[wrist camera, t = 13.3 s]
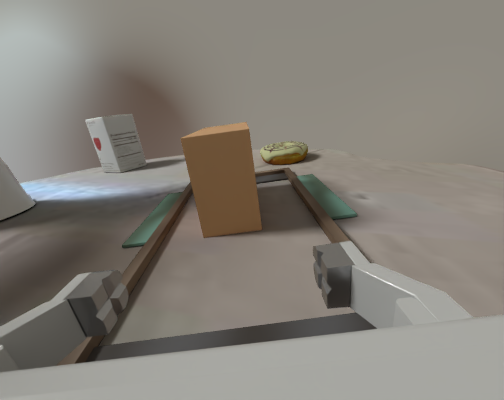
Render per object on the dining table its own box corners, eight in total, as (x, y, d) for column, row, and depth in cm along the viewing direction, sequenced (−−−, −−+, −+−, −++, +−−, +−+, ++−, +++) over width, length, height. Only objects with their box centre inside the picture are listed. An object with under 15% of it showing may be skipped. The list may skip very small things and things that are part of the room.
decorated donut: (261, 169, 49) (259, 151, 47) (261, 158, 59) (259, 143, 57) (312, 162, 48) (311, 144, 47) (303, 153, 58) (302, 137, 57)
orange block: (203, 238, 24) (180, 138, 20) (217, 193, 37) (204, 127, 33) (262, 230, 24) (249, 128, 20) (255, 188, 37) (246, 122, 33)
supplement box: (102, 172, 69) (83, 119, 64) (130, 165, 76) (114, 116, 71) (120, 173, 65) (101, 116, 59) (148, 165, 72) (132, 113, 66)
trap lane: (-93, 493, 9) (-107, 482, 8) (175, 187, 43) (174, 183, 43) (568, 410, 8) (575, 395, 8) (305, 169, 43) (305, 165, 43)
